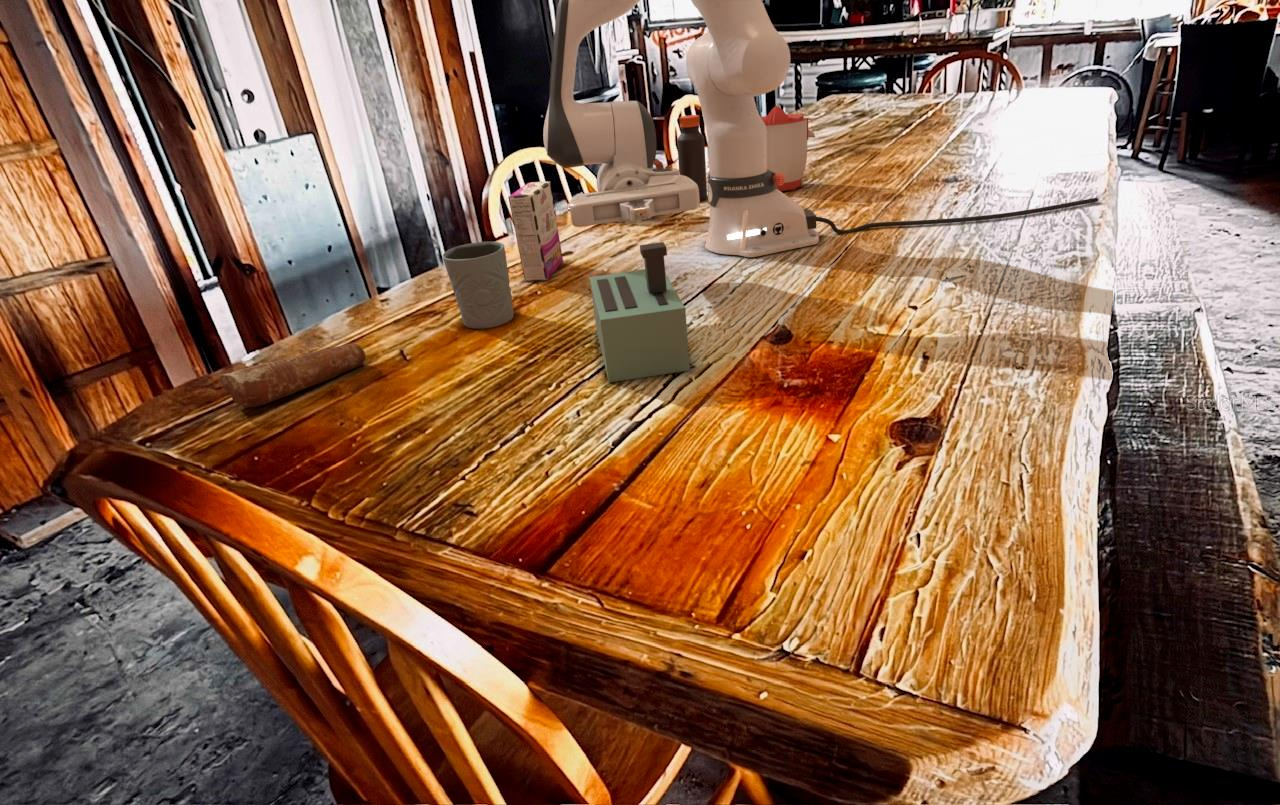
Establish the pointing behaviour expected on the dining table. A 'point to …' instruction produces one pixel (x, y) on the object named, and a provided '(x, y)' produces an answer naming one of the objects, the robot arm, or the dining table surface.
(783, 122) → the citrus juicer
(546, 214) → the candy bar box
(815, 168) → the dining table surface
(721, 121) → the robot arm
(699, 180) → the bottle
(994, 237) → the dining table surface
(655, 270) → the slide switch
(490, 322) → the gray embossed cup
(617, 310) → the toaster
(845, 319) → the dining table surface
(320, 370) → the bread
